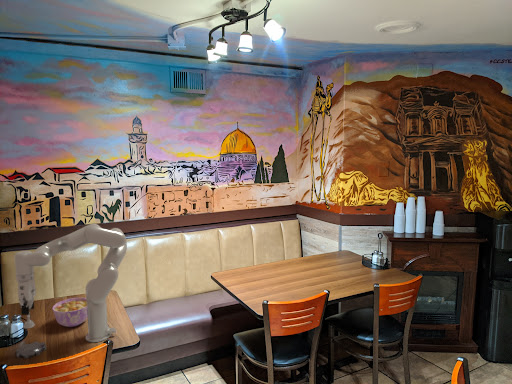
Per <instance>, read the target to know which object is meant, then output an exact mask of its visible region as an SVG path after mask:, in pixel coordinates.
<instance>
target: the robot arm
mask: <svg viewBox="0 0 512 384" xmlns="http://www.w3.org/2000/svg"><path fill="white" fill-rule="evenodd" d="M89 243H91V244H94V245H98V246H103V247H106V248H109V249H108V252H107V254H106V255H105V256H104V258H103V260H102V262H101V263H100V265H99V266H98V268H97V271H96V272H97V277H96V278H92V279H90V280H88V282H87V284H86V285H85V298H86V300H87V328H88V333H87V334H86V335H85V340H86V341H87V342H89V343H99V342H103V341H105V340H107V339H108V338H110V337H111V335H112V333H113V334H116V333H117V328H115V327H110V326H109V325H108V314H107V313H108V311H107V309H108V308H107V297H108V296H109V294H110V293H111V291H112V289H113V288H114V286H115V284H116V283H117V280H118V279H119V271H118V269H119V266H120V265H121V263H122V261H123V259H124V258H125V255H126V252H127V249H128V243H127V237H126V235H125V234H124V232H123V231H122V229H120V228H117V227H112V228H111V229H106V228H102V227H101V226H100V225H99V224H97V223H90V224H87V225H86V226H83V227H81V228H79V229H77V230H76V231H73V232H71V233H69V234H66V235H63V236H61V237H58V238H55V239H53V240H50V241H48V242H47V243H45V244H43V245H41V246H38V247H37V248H36V249H35V250H34V252H32V251H31V250H21V251H20V250H19V251H18V252H16V253H15V254H14V267H15V278H16V282H17V297H18V302H19V306H20V309H21V310H20V311H21V312H20V313H21V316H27V315H30V314H29V312H30V310H34V309H35V302H34V301H35V300H34V301H33V304H32V307H31V308H30V309H29V306H28V301H30V300H31V299H32V293H31V292H33V291H34V297H35V296H36V295H37V290H36V289H37V288H36V281H35V268H34V267H43V266H46V265H48V264H49V263H50V261H51V258H53V257H54V256H56V255H58V254H61V253H63V252H69V251H76V250H78V249H80V248H82V247H84V246H86V245H88V244H89ZM24 299H26V301H24ZM24 302H26V304H25V303H24Z"/></svg>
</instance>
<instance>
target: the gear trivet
mask: <svg viewBox="0 0 512 384" xmlns="http://www.w3.org/2000/svg"><path fill="white" fill-rule="evenodd" d="M46 350H47V344H46V342H39V341H34V342H32V343H28V344H27V343H26V344H23V345H22V347H20V348H17V349H16V358H24V359H29V358H30V357H35V356H37V357H38V356H39V355H41V353H42V352H44V351H46Z"/></svg>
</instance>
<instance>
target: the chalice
mask: <svg viewBox="0 0 512 384" xmlns="http://www.w3.org/2000/svg"><path fill="white" fill-rule="evenodd" d="M31 293H32V299H31V300H30V301H28V306H29V310H31V309H30V308H31V307H32V304H33V301H35V296H34V291H33V292H31ZM24 301H26V299H24ZM24 303H25V304H26V302H24ZM30 313H31V312H30V311H29V315H26V318H27V320H26V321H25V322H24V324H23V327H22V328H23V329H31V328H34V326H36V323H34V321H33V320H31V315H30Z"/></svg>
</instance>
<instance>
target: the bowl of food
mask: <svg viewBox="0 0 512 384" xmlns="http://www.w3.org/2000/svg"><path fill="white" fill-rule="evenodd" d="M52 311H53V314H54V317H55V319H56V322H57V323H58V324H59V325H60V326H61V327H62V326H63V327H67V328H73V327H77V326H79V325H81V324H82V323H84V322H85V321H87V320H88V317H87V300H86V297H73V298H67V299H64V300H61V301H58V302H56V303H55V304H54V305H53V307H52Z"/></svg>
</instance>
